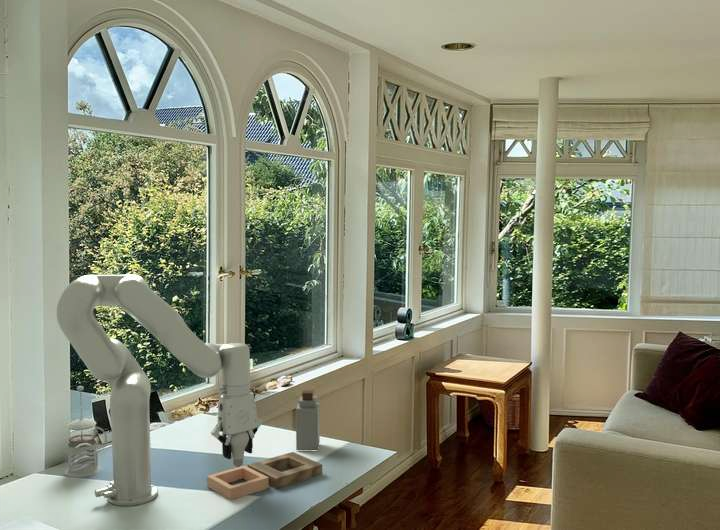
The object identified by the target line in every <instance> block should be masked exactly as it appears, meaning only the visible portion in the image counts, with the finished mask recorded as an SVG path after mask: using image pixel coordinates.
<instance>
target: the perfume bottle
mask: <svg viewBox="0 0 720 530" xmlns="http://www.w3.org/2000/svg"><path fill="white" fill-rule="evenodd" d="M301 395H302V396H299V398H298V403H297V405H296V408H295V437H296V438H295V442H296V443H295V447H296V449H295V450H318V451H319V449H318V447H319V448H320V445H319V443H321V440H320V438H321V437H320V434H321V433H320V430H321V429H320V402H317V400H318V399H317V398H318V396H314V390H313V389H311V390H309V389H307V390H302V392H301Z"/></svg>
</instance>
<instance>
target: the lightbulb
mask: <svg viewBox="0 0 720 530" xmlns="http://www.w3.org/2000/svg"><path fill="white" fill-rule="evenodd" d="M248 441H249V435H248V432H247V431H246V432H242V433H238V434H234V435H231V439H230V442H229V444H231V453H232V458H231V459H232V463H233V466H235V468H237V467H241V466H244V465H243V464H244V458H245V452H246V451H245V448H246V446H247V444H248Z"/></svg>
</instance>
